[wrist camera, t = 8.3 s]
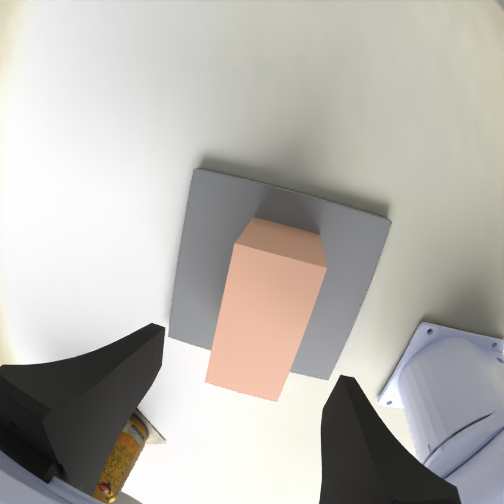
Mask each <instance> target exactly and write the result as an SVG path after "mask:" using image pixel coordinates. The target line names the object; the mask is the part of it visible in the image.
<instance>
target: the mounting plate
mask: <svg viewBox="0 0 504 504" xmlns="http://www.w3.org/2000/svg"><path fill="white" fill-rule="evenodd" d="M253 217H256V218H260V219H264V220H268V221H272V222H275V223H279V224H283V225H287V226H290V227H294V228H298V229H301V230H305V231H309V232H312V233H316V234H319V235H320V236H321V241H322V245H323V250H324V255H325V260H326V265H327V270H326V273H325V276H324V279H323V282H322V285H321V288H320V290H319V293H318V296H317V299H316V302H315V305H314V308H313V310H312V313H311V316H310V319H309V321H308V324H307V327H306V330H305V332H304V335H303V338H302V340H301V343H300V346H299V348H298V351H297V353H296V356H295V359H294V361H293V364H292V366H291V369H290V371H289V372H293V373H297V374H301V375H306V376H310V377H315V378H320V379H324V380H329V378H330V376H331V374H332V371H333V369H334V367H335V365H336V363H337V361H338V359H339V357H340V354H341V352H342V350H343V348H344V346H345V343H346V341H347V339H348V337H349V334H350V332H351V330H352V327H353V325H354V323H355V320H356V318H357V316H358V313H359V311H360V308H361V306H362V303H363V301H364V298H365V296H366V293H367V291H368V288H369V286H370V283H371V280H372V278H373V275H374V272H375V270H376V267H377V264H378V261H379V259H380V256H381V253H382V250H383V247H384V244H385V241H386V238H387V235H388V232H389V229H390V226H391V223H392V221H391V220H389V219H388V218H386V217H383V216H379V215H376V214H373V213H370V212H366V211H363V210H360V209H357V208H353V207H350V206H347V205H343V204H340V203H336V202H333V201H329V200H326V199H322V198H319V197H315V196H312V195H308V194H304V193H301V192H297V191H293V190H289V189H285V188H282V187H278V186H274V185H270V184H266V183H262V182H258V181H254V180H250V179H245V178H241V177H237V176H233V175H228V174H224V173H220V172H215V171H211V170H206V169H202V168H196V169H194V171H193V176H192V181H191V187H190V192H189V197H188V203H187V208H186V214H185V220H184V226H183V232H182V238H181V244H180V251H179V257H178V264H177V271H176V278H175V285H174V292H173V300H172V308H171V316H170V324H169V333H168V337H170V338H173V339H176V340H179V341H182V342H185V343H189V344H192V345H195V346H198V347H201V348H204V349H208V350H212V345H213V341H214V336H215V331H216V326H217V322H218V317H219V312H220V308H221V303H222V298H223V294H224V289H225V284H226V280H227V275H228V271H229V266H230V262H231V257H232V253H233V248H234V244H235V242H236V241H237V239H238V238H239V236H240V235H241V234H242V232H243V231H244V229H245V228H246V227H247V225H248V224H249V222H250V221H251V220H252V218H253Z"/></svg>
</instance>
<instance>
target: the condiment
mask: <svg viewBox="0 0 504 504" xmlns="http://www.w3.org/2000/svg"><path fill="white" fill-rule="evenodd" d="M162 443H166V442H165V441H164V439H163V438H162V437H161V436H160V435H159V434H158V432H157V431H156V430H154V428H153V427H152V425H151V424H150V423H149V422H147V420H146V419H145V418H144V417H143V416H142V414H140V413H139V412H138V411H137V410H136V409H135V411H134V412H133V413H132V415H131V416H130V418H129V419H128V421H127V422H126V424H125V426H124V427H123V429H122V431H121V433H120V435H119V437H118V439H117V441H116V443H115V445H114V447H113V449H112V451H111V453H110V456H109V458H108V460H107V462H106V464H105V467H104V469H103V471H102V474H101V476H100V478H99V481H98V483H97V486H96V488H95V491H94V494H93V496H92V497H93V498H95V499H97V500H99V501H101V502H103V503H105V504H108V503H110V502H113V501H114V500H115V499H116V498H117V496H118V495H119V492H120V491H121V489H122V487H123V486H124V483H125V481H126V480H127V477H128V476H129V474H130V472H131V470H132V469H133V466H134V465H135V462H136V461H137V460H138V456H139V455H140V452H141V451H142V450H143V447H144V445H145V444H162Z"/></svg>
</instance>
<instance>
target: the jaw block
mask: <svg viewBox="0 0 504 504" xmlns="http://www.w3.org/2000/svg"><path fill="white" fill-rule="evenodd" d="M326 270H327V265H326V260H325V255H324V250H323V245H322V241H321V236H320V235H319V234H316V233H312V232H309V231H305V230H301V229H298V228H294V227H290V226H287V225H283V224H279V223H275V222H272V221H268V220H264V219H260V218H256V217H253V218H252V220H251V221H250V222H249V224H248V225H247V227H246V228H245V229H244V231H243V232H242V234H241V235H240V236H239V238H238V239H237V241H236V242H235V244H234V248H233V253H232V257H231V262H230V266H229V271H228V275H227V280H226V284H225V289H224V294H223V298H222V303H221V308H220V312H219V317H218V322H217V326H216V331H215V336H214V341H213V345H212V350H211V355H210V360H209V365H208V370H207V375H206V379H205V382H206V383H209V384H213V385H216V386H219V387H223V388H226V389H230V390H233V391H237V392H240V393H244V394H248V395H252V396H255V397H259V398H263V399H267V400H272V401H276V402H277V401H278V398H279V396H280V393H281V391H282V389H283V386H284V384H285V381H286V379H287V376H288V374H289V371H290V369H291V366H292V364H293V361H294V359H295V356H296V353H297V351H298V348H299V346H300V343H301V340H302V338H303V335H304V332H305V330H306V327H307V324H308V321H309V319H310V316H311V313H312V310H313V308H314V305H315V302H316V299H317V296H318V293H319V290H320V288H321V285H322V282H323V279H324V276H325V273H326Z"/></svg>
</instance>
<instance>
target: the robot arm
mask: <svg viewBox="0 0 504 504" xmlns="http://www.w3.org/2000/svg"><path fill="white" fill-rule="evenodd" d="M429 329H432V330H431V331H430V332H427V331H428V330H429ZM164 336H165V327H162V326H159V325H156V324H154V323H151V324H149V325H147V326H145V327H143V328H141V329H139V330H137V331H135V332H133V333H131V334H130V335H128V336H126V337H124V338H122V339H120V340H118V341H116V342H114V343H111V344H109V345H107V346H104V347H102V348H100V349H97V350H95V351H92V352H89V353H87V354H83V355H80V356H77V357H73V358H69V359H64V360H60V361H55V362H49V363H41V364H30V365H2V366H1V367H0V504H105V503H103V502H101V501H99V500H97V499H95V498H93V497H92V496H93V494H94V491H95V488H96V486H97V483H98V481H99V478H100V476H101V474H102V471H103V469H104V467H105V464H106V462H107V460H108V458H109V456H110V453H111V451H112V449H113V447H114V445H115V443H116V441H117V439H118V437H119V435H120V433H121V431H122V429H123V427H124V426H125V424H126V422H127V421H128V419H129V418H130V416H131V415H132V413H133V412H134V411H135V409H136V408H137V406H138V405H139V403H140V402H141V400H142V399H143V397H144V396H145V394H146V393H147V392H148V390H149V389H150V387H151V386H152V384H153V382H154V380H155V378H156V376H157V374H158V372H159V370H160V368H161V366H162V357H163V346H164ZM493 344H494V345H493ZM503 350H504V340H503V339H498V338H493V337H489V336H484V335H480V334H475V333H471V332H466V331H462V330H458V329H453V328H449V327H445V326H440V325H436V324H432V323H427V322H423V323H421V324H420V325H419V326H418V327H417V329H416V331H415V333H414V335H413V337H412V339H411V341H410V343H409V345H408V347H407V349H406V351H405V353H404V355H403V357H402V358H401V360H400V362H399V364H398V366H397V367H396V369H395V371H394V373H393V374H392V376H391V378H390V380H389V381H388V383H387V385H386V386H385V388H384V390H383V391H382V393H381V395H380V396H379V398H378V404H379V405H381V406H387V407H395V408H403V409H404V412H405V415H406V418H407V422H408V426H409V429H410V433H411V436H412V440H413V444H414V448H415V452H416V456H417V459H416V458H415V457H414V456H413V455H412V454H410V453H409V452H408V451H407V450H406V449H405V448H404V447H403V446H402V444H401V443H400V442H399V441H398V440H397V439H396V438H395V437H394V435H393V434H392V433H391V432H390V431H389V429H388V428H387V427H386V425H385V424H384V423H383V421H382V420H381V418H380V417H379V416H378V414H377V413H376V411H375V410H374V408H373V407H372V405H371V403H370V402H369V400H368V399H367V397H366V395H365V394H364V392H363V390H362V389H361V387H360V386H359V384H358V382H357V381H356V379H355V378H354V377H348V376H343V375H340V377H339V379H338V381H337V383H336V385H335V387H334V389H333V391H332V393H331V394H330V396H329V398H328V400H327V402H326V404H325V406H324V407H323V411H322V420H321V456H322V484H321V493H320V501H319V504H504V356H503V354H502V352H503ZM389 400H391V401H389ZM387 401H389V402H387Z"/></svg>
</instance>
